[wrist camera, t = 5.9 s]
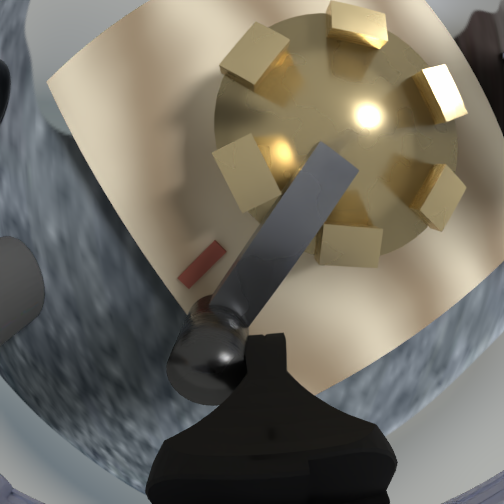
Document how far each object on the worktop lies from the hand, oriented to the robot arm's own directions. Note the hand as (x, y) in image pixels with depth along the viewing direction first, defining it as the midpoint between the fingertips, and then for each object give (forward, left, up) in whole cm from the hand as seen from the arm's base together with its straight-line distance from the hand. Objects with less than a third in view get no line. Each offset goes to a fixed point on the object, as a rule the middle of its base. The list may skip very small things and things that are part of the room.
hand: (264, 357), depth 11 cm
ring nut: (-5, -4, -3) cm, 7 cm away
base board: (-7, -5, -5) cm, 10 cm away
